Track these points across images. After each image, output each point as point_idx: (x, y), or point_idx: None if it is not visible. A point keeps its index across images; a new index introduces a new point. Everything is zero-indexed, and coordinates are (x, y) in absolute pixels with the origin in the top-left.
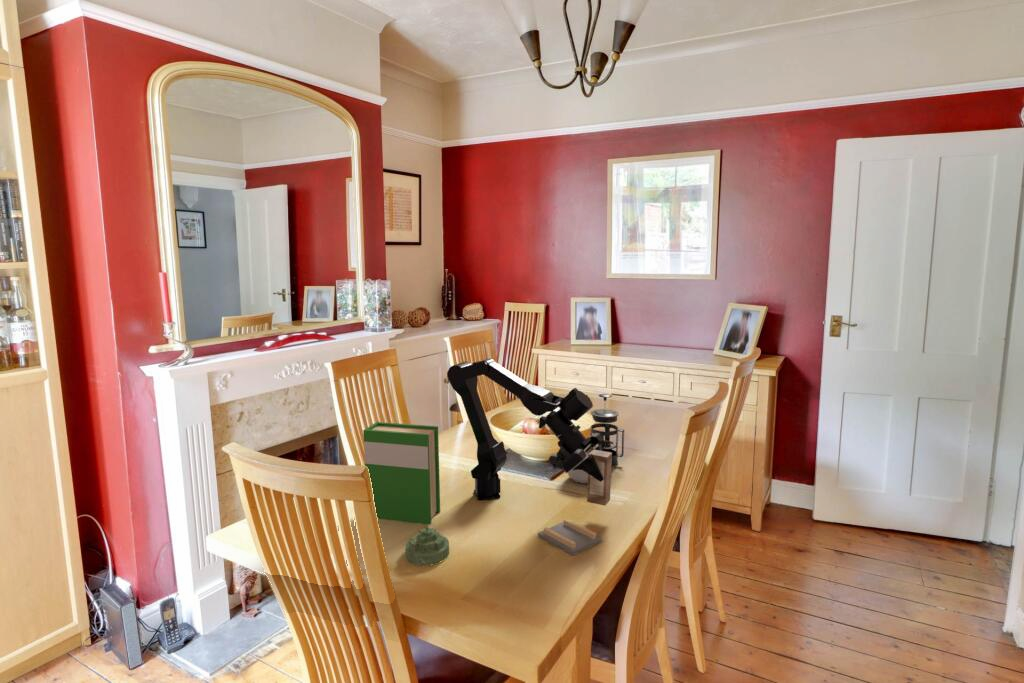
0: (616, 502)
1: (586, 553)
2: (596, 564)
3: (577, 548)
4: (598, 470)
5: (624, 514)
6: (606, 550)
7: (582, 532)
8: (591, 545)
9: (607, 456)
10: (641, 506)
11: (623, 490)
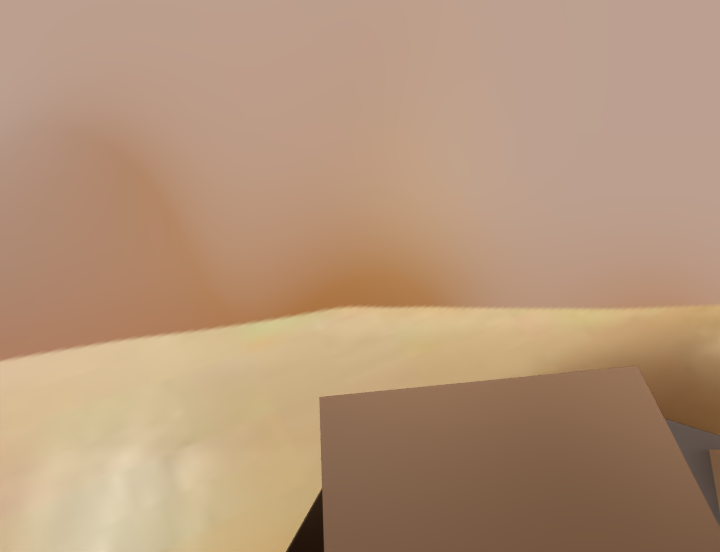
0: (190, 485)
1: (671, 403)
2: (689, 343)
3: (707, 440)
4: None
5: (300, 398)
6: (594, 349)
7: None
8: None
9: (595, 385)
10: (197, 363)
11: (22, 514)
